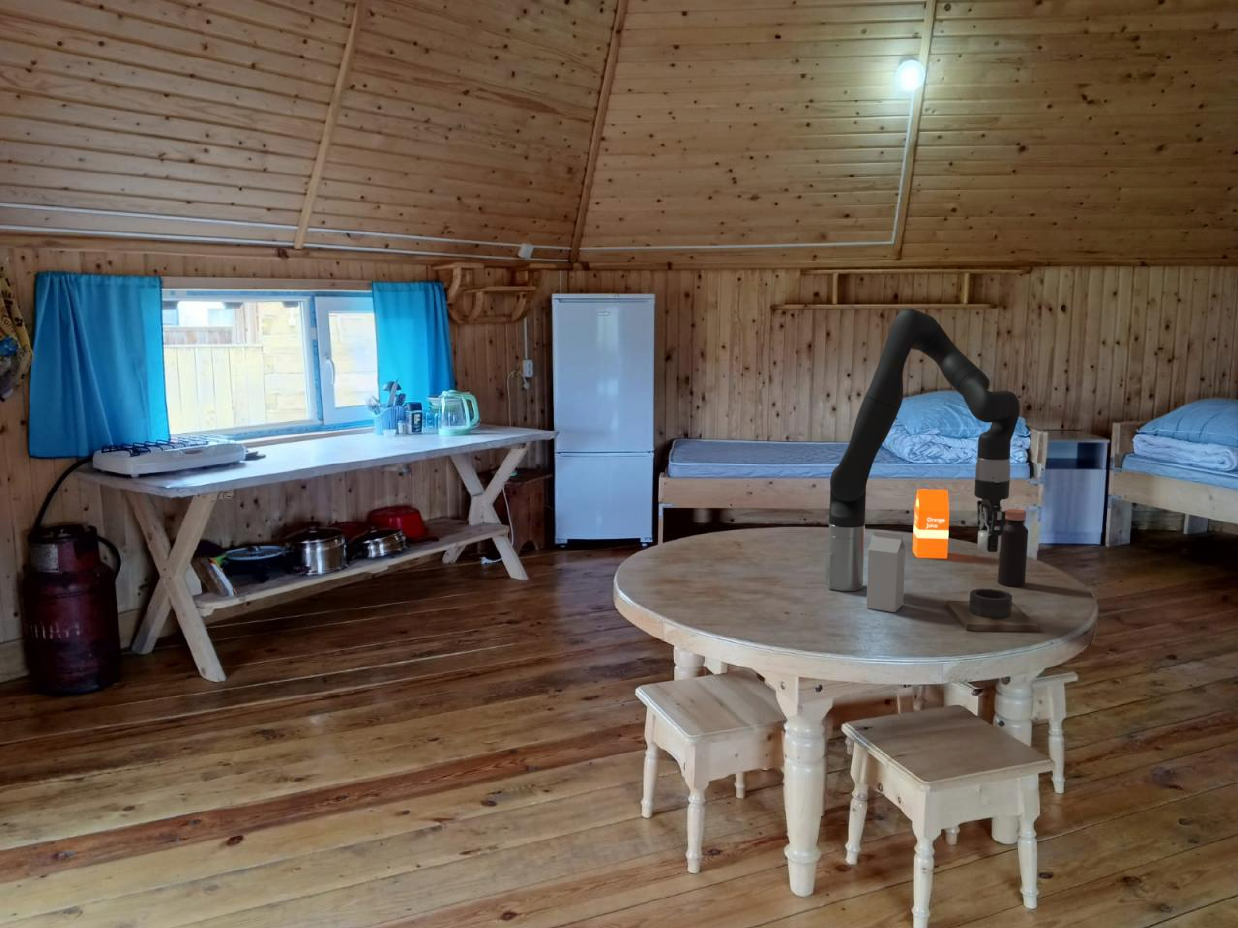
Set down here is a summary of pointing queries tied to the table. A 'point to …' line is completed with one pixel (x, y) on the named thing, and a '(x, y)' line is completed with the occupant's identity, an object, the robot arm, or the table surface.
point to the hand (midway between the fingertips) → (988, 548)
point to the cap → (983, 542)
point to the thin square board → (990, 612)
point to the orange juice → (931, 524)
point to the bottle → (1013, 549)
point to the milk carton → (886, 571)
